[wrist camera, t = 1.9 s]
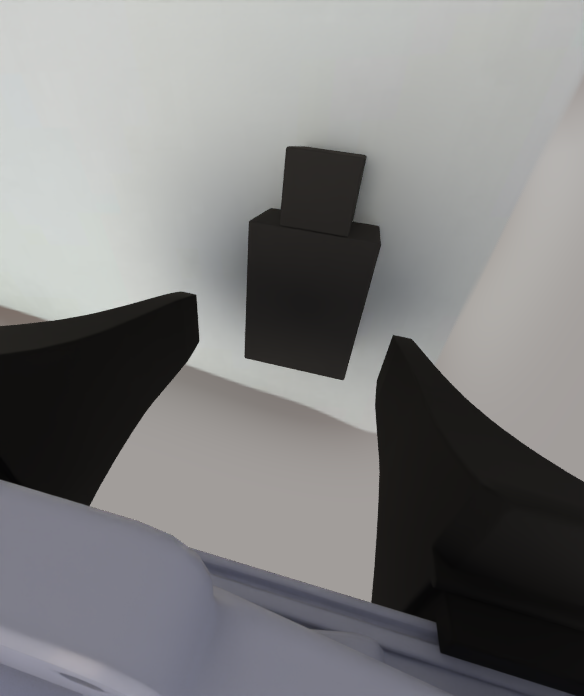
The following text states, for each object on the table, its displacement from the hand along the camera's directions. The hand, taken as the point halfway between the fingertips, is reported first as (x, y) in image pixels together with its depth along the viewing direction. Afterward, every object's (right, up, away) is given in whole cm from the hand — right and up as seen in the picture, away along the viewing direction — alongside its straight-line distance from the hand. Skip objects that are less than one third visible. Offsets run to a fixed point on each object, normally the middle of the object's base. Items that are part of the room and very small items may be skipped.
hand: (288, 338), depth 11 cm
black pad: (+1, +4, +4) cm, 6 cm away
